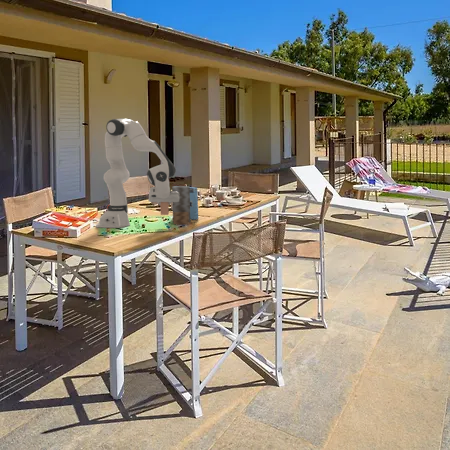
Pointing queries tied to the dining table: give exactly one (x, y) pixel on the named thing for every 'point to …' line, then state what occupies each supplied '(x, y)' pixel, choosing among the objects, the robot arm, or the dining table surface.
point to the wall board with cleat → (182, 206)
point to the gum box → (193, 203)
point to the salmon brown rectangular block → (164, 208)
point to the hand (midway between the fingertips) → (164, 204)
